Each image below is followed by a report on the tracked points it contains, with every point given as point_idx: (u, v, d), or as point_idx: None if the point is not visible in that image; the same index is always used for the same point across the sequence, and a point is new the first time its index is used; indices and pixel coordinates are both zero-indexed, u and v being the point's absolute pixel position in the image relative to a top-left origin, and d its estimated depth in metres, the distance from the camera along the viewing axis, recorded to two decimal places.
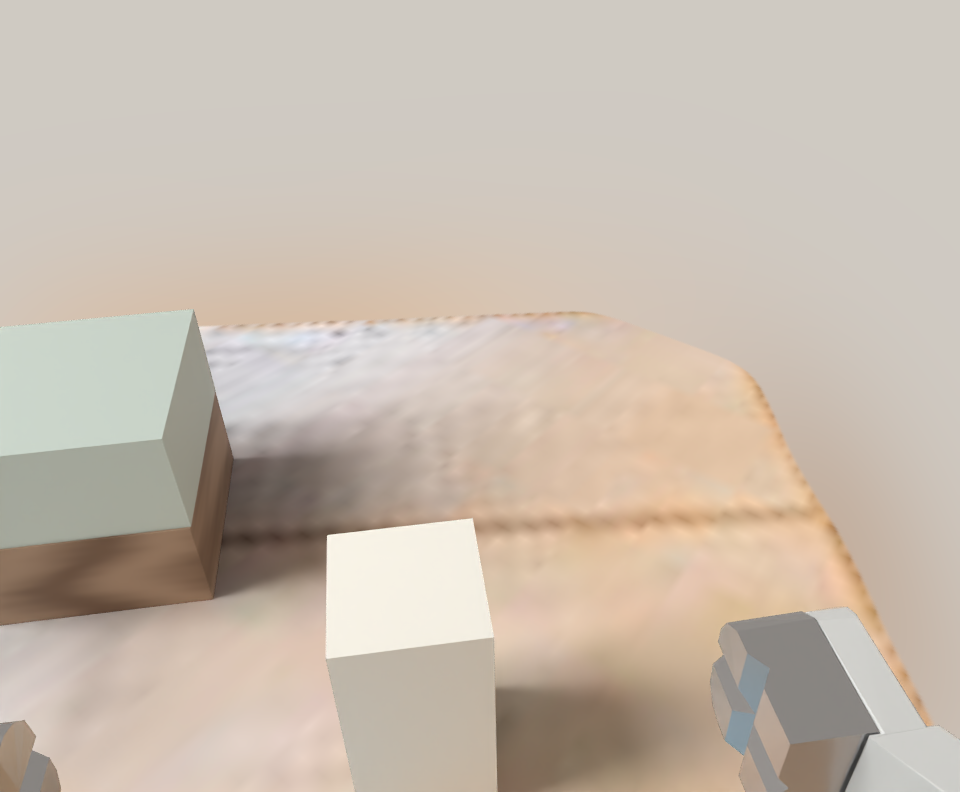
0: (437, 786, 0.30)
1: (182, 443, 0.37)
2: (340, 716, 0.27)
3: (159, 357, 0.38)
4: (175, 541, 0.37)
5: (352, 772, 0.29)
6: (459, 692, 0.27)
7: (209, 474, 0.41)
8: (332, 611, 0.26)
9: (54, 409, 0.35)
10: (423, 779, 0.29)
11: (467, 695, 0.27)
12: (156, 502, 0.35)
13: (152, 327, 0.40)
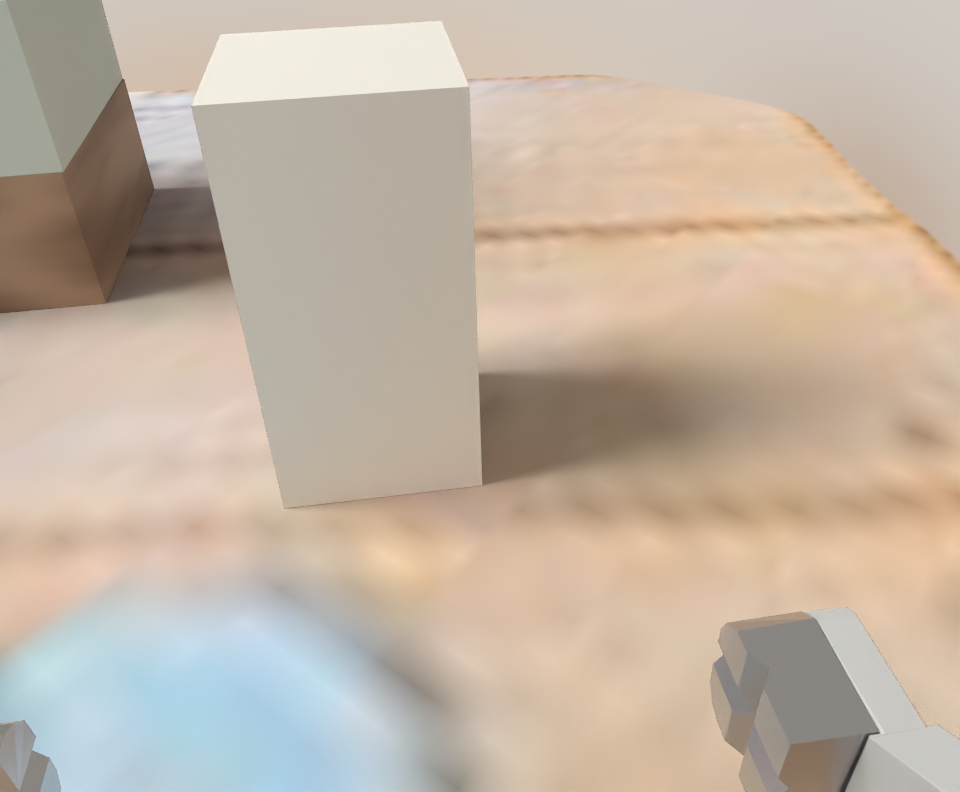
0: (391, 437, 0.20)
1: (51, 58, 0.27)
2: (229, 256, 0.17)
3: None
4: (44, 194, 0.27)
5: (259, 391, 0.19)
6: (417, 220, 0.17)
7: (106, 154, 0.31)
8: (213, 76, 0.16)
9: None
10: (370, 418, 0.20)
11: (430, 228, 0.17)
12: (9, 123, 0.25)
13: None
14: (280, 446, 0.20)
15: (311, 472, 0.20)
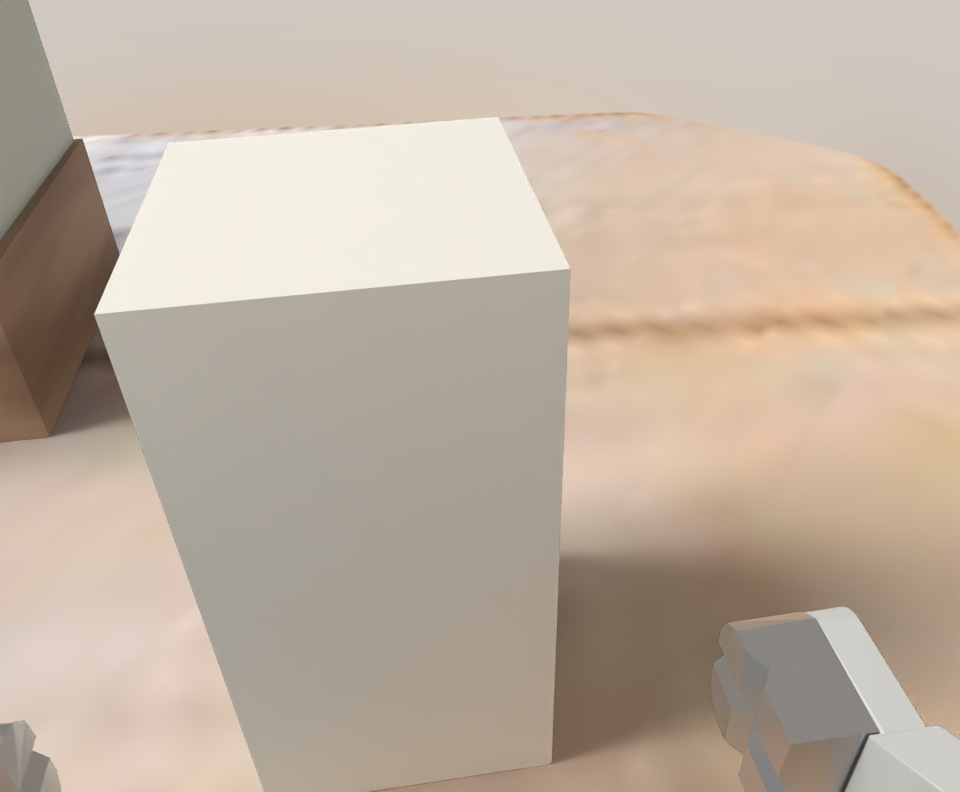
0: (425, 721, 0.14)
1: None
2: (172, 521, 0.10)
3: None
4: None
5: (228, 682, 0.12)
6: (474, 459, 0.11)
7: (54, 241, 0.25)
8: (142, 238, 0.10)
9: None
10: (394, 701, 0.13)
11: (494, 469, 0.11)
12: None
13: None
14: (262, 741, 0.13)
15: (308, 766, 0.14)
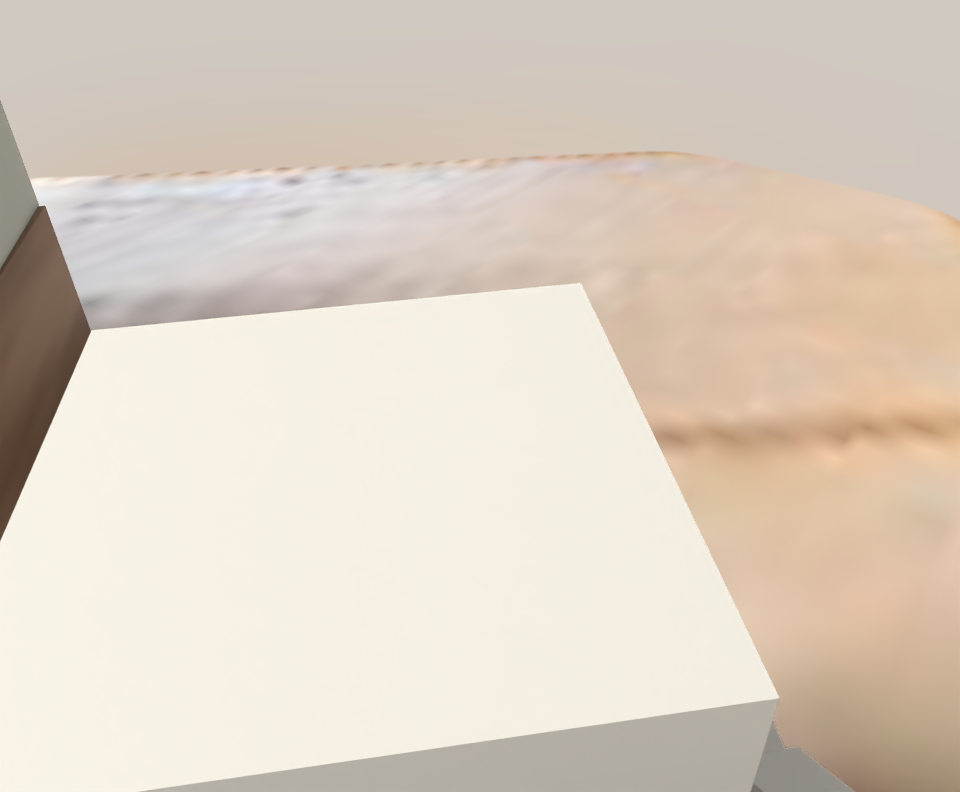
0: None
1: None
2: None
3: None
4: None
5: None
6: None
7: (8, 338, 0.21)
8: (11, 578, 0.06)
9: None
10: None
11: None
12: None
13: None
14: None
15: None
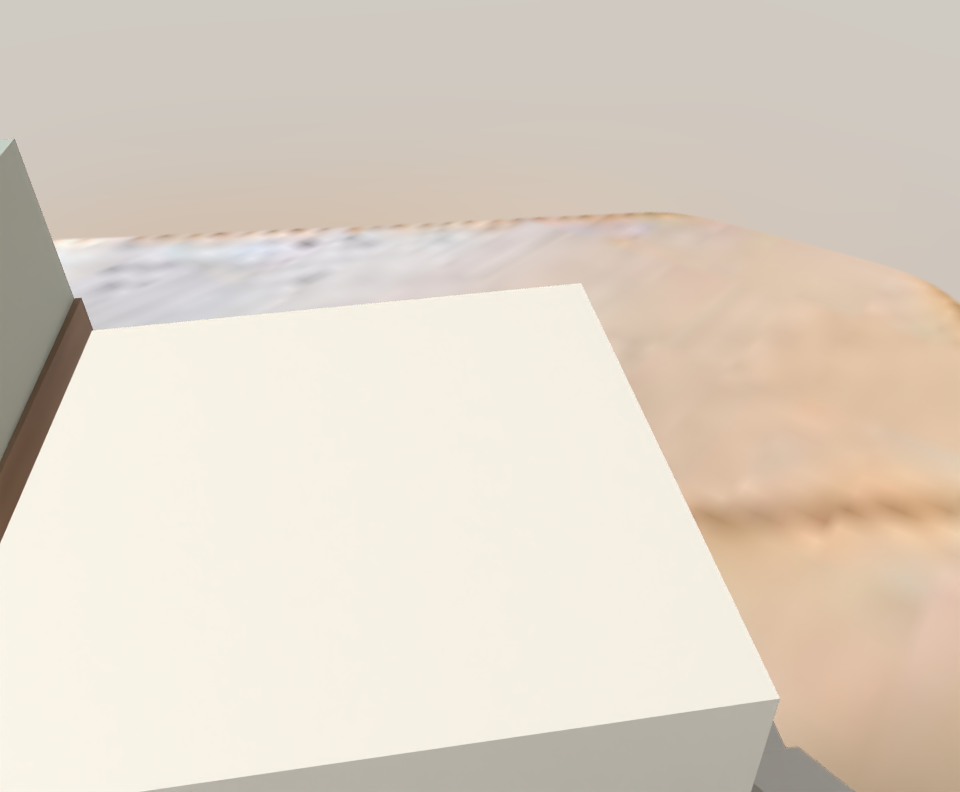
0: None
1: None
2: None
3: None
4: None
5: None
6: None
7: None
8: (11, 578, 0.06)
9: None
10: None
11: None
12: None
13: None
14: None
15: None
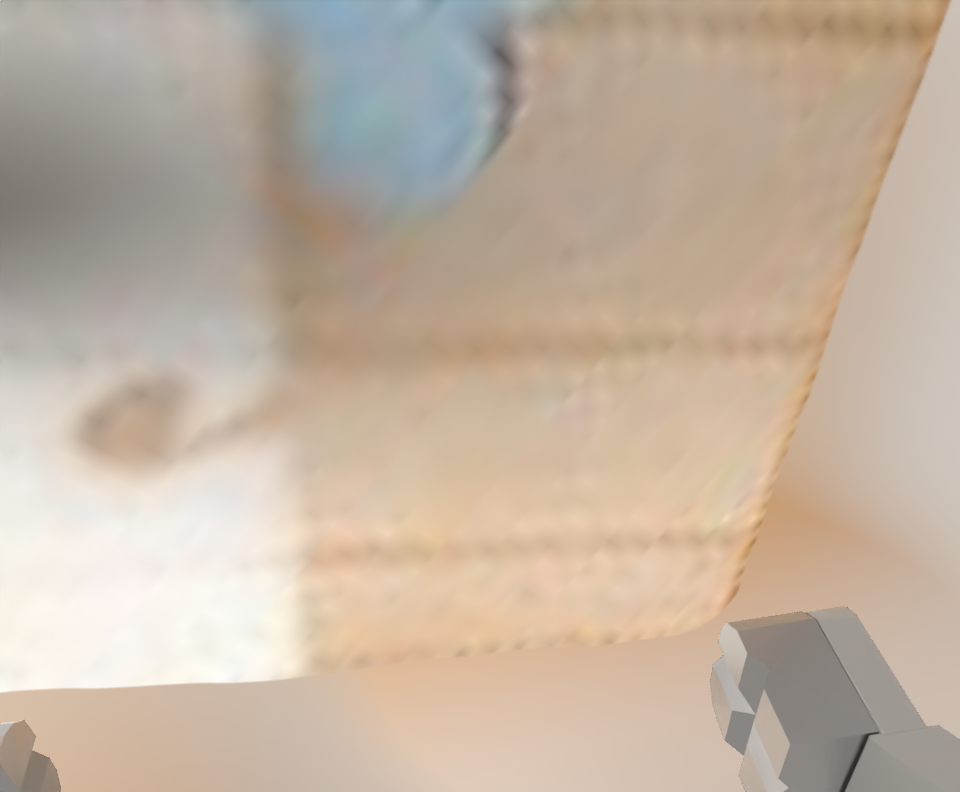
0: None
1: None
2: None
3: None
4: None
5: None
6: None
7: None
8: None
9: None
10: None
11: None
12: None
13: None
14: None
15: None
